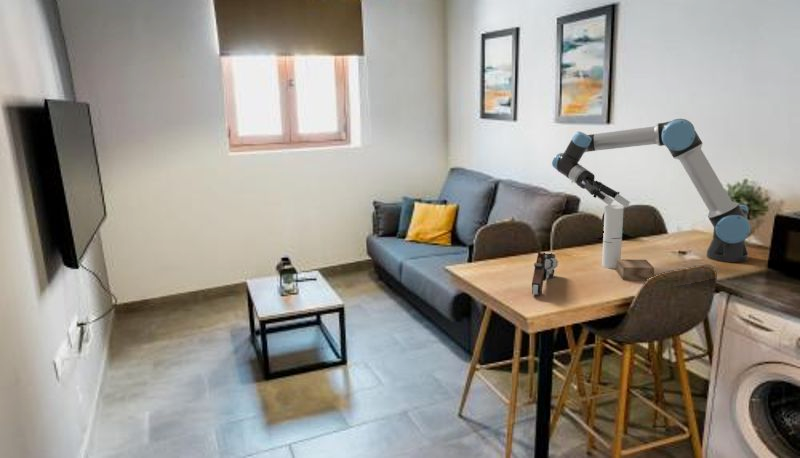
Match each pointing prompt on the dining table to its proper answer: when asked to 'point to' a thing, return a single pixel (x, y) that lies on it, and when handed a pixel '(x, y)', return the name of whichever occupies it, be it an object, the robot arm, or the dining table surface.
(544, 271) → the toy gun
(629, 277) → the base block
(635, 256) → the dining table surface
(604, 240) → the cylindrical container
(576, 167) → the robot arm
